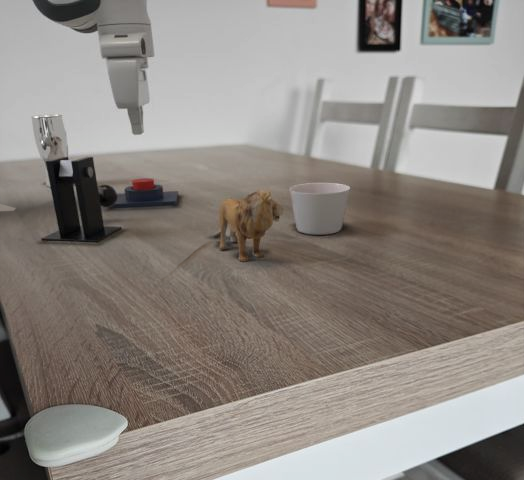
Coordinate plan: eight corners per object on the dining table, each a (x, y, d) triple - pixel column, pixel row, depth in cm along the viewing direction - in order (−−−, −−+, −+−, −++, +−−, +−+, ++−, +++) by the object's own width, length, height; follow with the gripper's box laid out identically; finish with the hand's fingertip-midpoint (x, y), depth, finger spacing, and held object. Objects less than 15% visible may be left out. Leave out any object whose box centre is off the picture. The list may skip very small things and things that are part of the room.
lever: (99, 210, 91) (102, 189, 91) (119, 210, 90) (122, 189, 91) (53, 180, 78) (56, 155, 79) (76, 180, 78) (79, 155, 78)
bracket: (71, 232, 88) (56, 155, 83) (122, 234, 86) (111, 155, 81) (42, 246, 81) (24, 162, 76) (98, 248, 79) (83, 163, 74)
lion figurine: (289, 260, 72) (288, 189, 68) (255, 268, 69) (253, 195, 65) (229, 238, 83) (225, 175, 79) (198, 244, 80) (193, 180, 76)
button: (131, 192, 102) (130, 182, 101) (134, 188, 105) (133, 178, 104) (153, 191, 102) (152, 181, 101) (155, 187, 105) (154, 177, 105)
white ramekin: (338, 221, 90) (339, 181, 87) (356, 235, 82) (358, 191, 79) (284, 225, 89) (284, 184, 86) (297, 239, 81) (297, 195, 78)
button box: (109, 213, 100) (106, 194, 98) (118, 202, 109) (115, 184, 107) (176, 210, 101) (174, 190, 99) (179, 199, 110) (177, 181, 108)
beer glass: (53, 188, 125) (39, 117, 118) (38, 185, 129) (24, 116, 122) (81, 184, 129) (69, 114, 123) (65, 181, 134) (53, 114, 127)
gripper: (117, 49, 102) (128, 129, 108) (97, 44, 84) (111, 140, 90) (151, 48, 102) (160, 128, 109) (139, 42, 84) (150, 138, 90)
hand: (138, 134), depth 99 cm, fingers closed
